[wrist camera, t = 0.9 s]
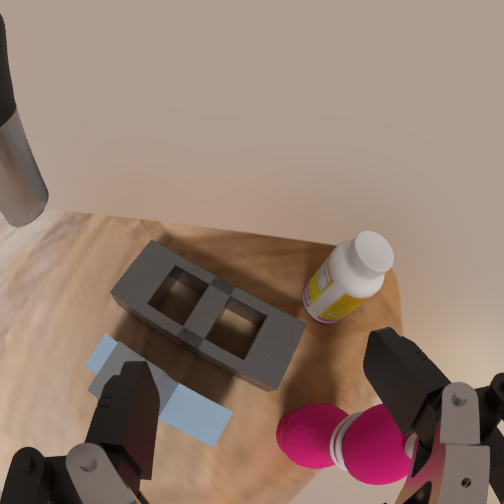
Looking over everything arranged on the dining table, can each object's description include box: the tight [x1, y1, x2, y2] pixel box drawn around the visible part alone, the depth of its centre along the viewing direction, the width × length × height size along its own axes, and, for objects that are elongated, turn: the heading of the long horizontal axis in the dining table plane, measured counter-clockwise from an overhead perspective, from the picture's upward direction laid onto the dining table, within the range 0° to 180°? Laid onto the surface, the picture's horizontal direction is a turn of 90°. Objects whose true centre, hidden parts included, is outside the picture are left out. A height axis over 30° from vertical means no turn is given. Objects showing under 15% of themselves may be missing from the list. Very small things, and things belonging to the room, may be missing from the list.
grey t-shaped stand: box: [85, 334, 233, 447], centre depth 19 cm, size 14×4×16 cm, turn 64°
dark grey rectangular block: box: [110, 240, 306, 392], centre depth 30 cm, size 20×8×4 cm, turn 64°
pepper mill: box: [276, 404, 417, 485], centre depth 18 cm, size 7×7×20 cm
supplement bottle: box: [303, 231, 394, 323], centre depth 30 cm, size 7×7×13 cm
